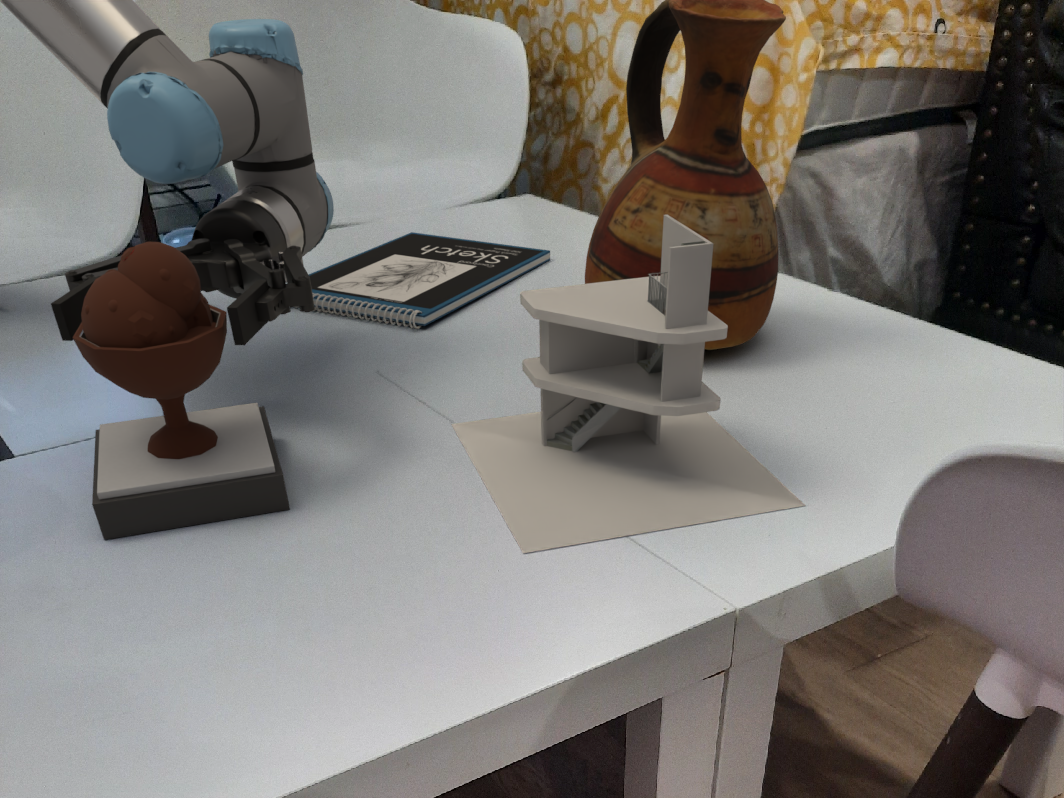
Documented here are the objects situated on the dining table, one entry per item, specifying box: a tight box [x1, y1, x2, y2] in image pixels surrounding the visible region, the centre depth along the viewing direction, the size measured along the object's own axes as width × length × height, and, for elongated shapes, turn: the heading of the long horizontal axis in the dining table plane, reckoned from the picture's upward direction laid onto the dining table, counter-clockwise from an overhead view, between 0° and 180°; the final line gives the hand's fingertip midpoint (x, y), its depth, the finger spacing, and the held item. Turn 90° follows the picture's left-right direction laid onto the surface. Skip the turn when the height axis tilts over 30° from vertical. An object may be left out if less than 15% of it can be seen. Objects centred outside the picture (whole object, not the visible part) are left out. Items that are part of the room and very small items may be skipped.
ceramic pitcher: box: [584, 0, 787, 351], centre depth 98 cm, size 20×20×30 cm
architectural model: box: [451, 215, 806, 554], centre depth 79 cm, size 23×24×18 cm
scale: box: [91, 402, 291, 541], centre depth 82 cm, size 14×14×4 cm
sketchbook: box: [293, 231, 551, 330], centre depth 123 cm, size 22×30×2 cm
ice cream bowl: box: [73, 241, 228, 459], centre depth 76 cm, size 11×11×15 cm
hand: (147, 324), depth 74 cm, fingers open, 13 cm apart
